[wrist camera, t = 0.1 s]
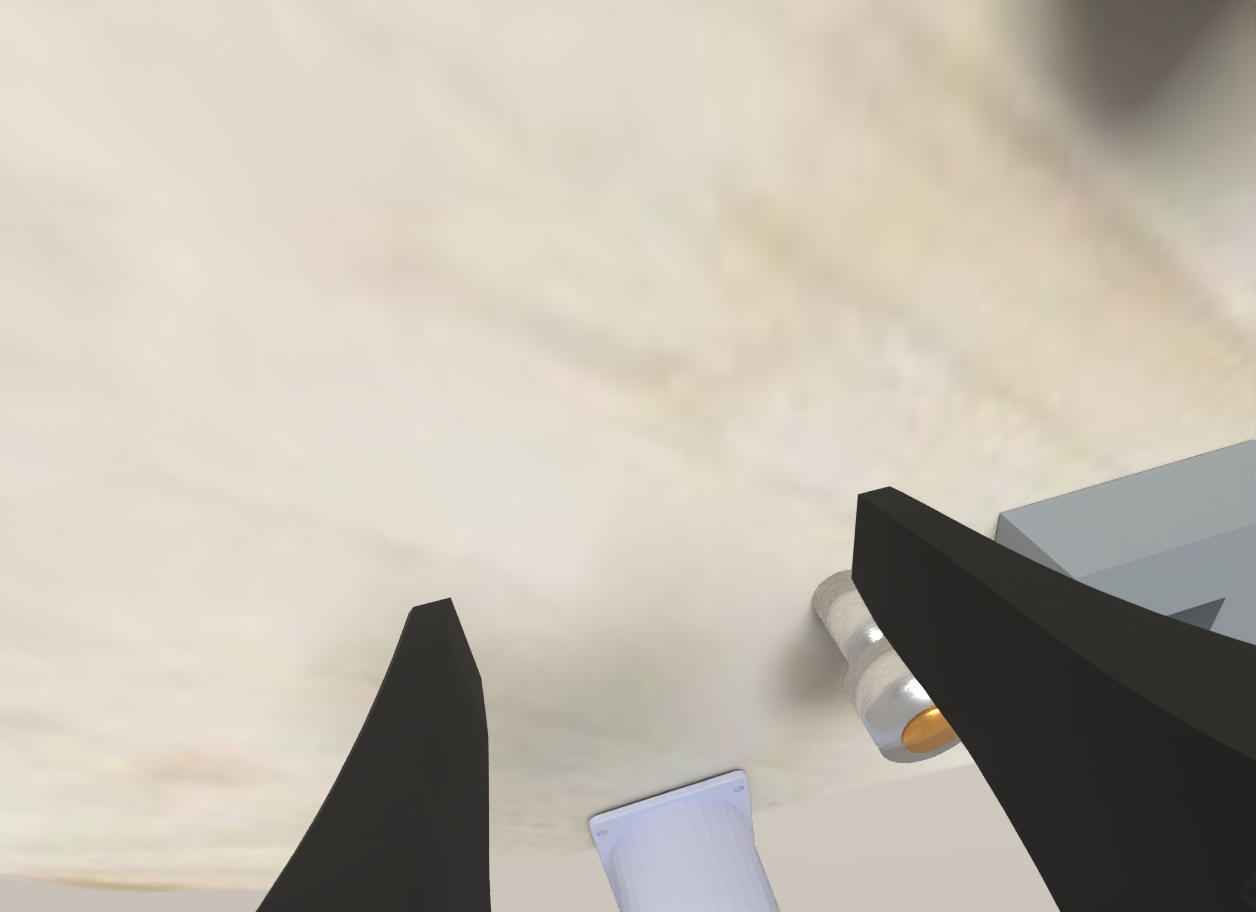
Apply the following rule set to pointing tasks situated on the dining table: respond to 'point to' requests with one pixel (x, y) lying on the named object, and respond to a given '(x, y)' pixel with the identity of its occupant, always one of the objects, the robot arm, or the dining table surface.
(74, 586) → the dining table surface
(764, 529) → the dining table surface
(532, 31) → the dining table surface
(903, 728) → the pin
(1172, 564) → the block
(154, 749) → the dining table surface
